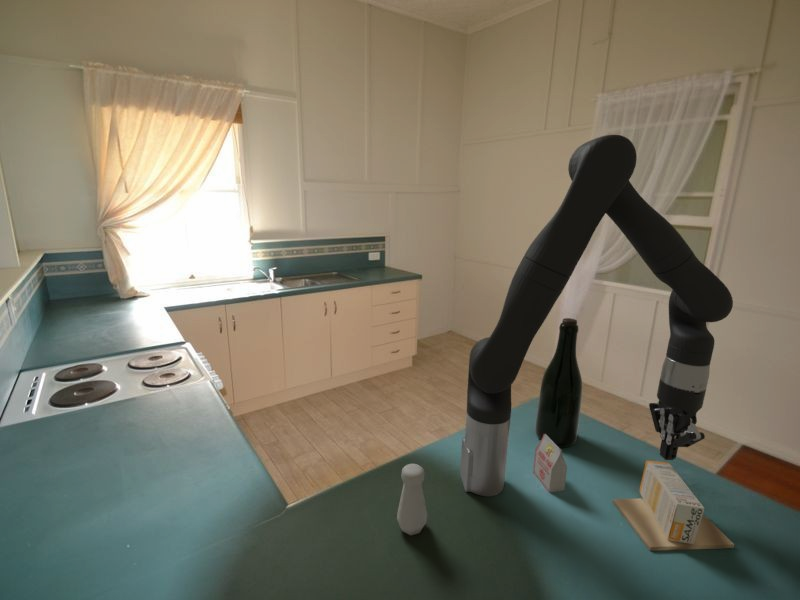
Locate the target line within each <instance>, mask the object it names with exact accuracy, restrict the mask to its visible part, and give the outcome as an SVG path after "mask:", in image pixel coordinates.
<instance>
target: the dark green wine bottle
mask: <svg viewBox="0 0 800 600" xmlns="http://www.w3.org/2000/svg"><path fill="white" fill-rule="evenodd" d="M561 321H562V322H560V324H559V328H558V331H559V332H558V339H557V344H556V348H555V352H554V354H553V357H552V358H551V360H550V362H549V364H548V365H547V368H546V369H545V371H544V373H543V375H542V379H541V383H540V389H539V395H538V404H537V410H536V418H535V427H534V433H535V435H536V437H537V438H538V439H539V440H541V439H542V437H543V434H546V435H547V436H548V437H549V438H550V439H551V440H552V441H553V442H554V443H555V444H556V445H557V446H558V447H559V448H564V447H566V448H567V447H571V446H572V445H574V444H575V443H576V442H577V438H578V433H579V432H578V431H579V424H580V416H581V415H580V414H581V409H582V408H581V407H582V396H583V378H582V375H581V372H580V371H581V370H580V366H579V364H578V359H577V342H578V341H577V340H578V333H579V325H578V321H577V319H574V318H570V317H569V318H568V317H566V318H563V319H562V320H561Z"/></svg>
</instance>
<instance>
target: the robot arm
mask: <svg viewBox="0 0 800 600" xmlns="http://www.w3.org/2000/svg"><path fill="white" fill-rule="evenodd" d="M637 158H638V157H637V150H636V147H635V146H634V144H633V142H632V141H631V140H630V139H629V138H628V137H626V136H624V135H621V134H606V135H602V136H599V137H596V138H594V139H591V140H589V141H587V142H584V143H583V144H581V145H580V146H578V147H577V148H576V149H575V150H574V151H573V153H572V154H571V157H570V159H569V161H568V166H567V167H568V168H567V169H568V171H567V172H568V176H569V178H570V180H571V183H570V185H569V186H568V187H569V188H568V190H567V192H566V194H565V196H564V198H563V200H562V201H561V204H560V206H559V207H558V209H557V211H556V212H555V213H554V215H553V216H552V217H551V219H550V220H549V221H548V222H547V223H546V225H544V227H543V228H542V229H541V230H540V232H539V233H538V234H537V235H536V236H535V238H534V240H532V242H531V244H529V247H528V248H527V249H526V251H525V253H524V256H523V257H522V259H521V260H520V263H519V264H518V267H517V268H516V271H515V272H514V275H513V277H512V280H511V282H510V285H509V287H508V290H507V293H506V296H505V301H504V304H503V307H502V310H501V313H500V317H499V319H498V322H497V324H496V326H495V328H494V329H493V331H492V333H491V334H490V336H489V337H484V338H482V339H480V340H478V341H477V342H476V343H475V344H474V345H473V347H472V348H471V350H470V353H469V360H468V361H469V362H468V376H467V377H468V378H467V390H466V391H467V393H466V395H467V397H466V412H465V413H466V416H465V432H464V433H465V434H464V436H463V437H461V453H460V454H461V455H460V469H459V471H460V472H459V475H460V478H461V481H462V485H463V488H464V491H465V492H468V493H469V492H471V493H473V494H475V495H479V496H482V497H493V496H497V495H499V494H500V493H501V492H502V491H503V490H504V488H505V481H506V480H505V479H506V469H507V468H506V467H507V457H508V450H509V449H508V448H509V437H510V426H511V417H512V416H511V415H512V384H513V383H514V382H515V381H516V379H517V377H518V375H519V371H520V369H521V367H522V365H523V362H524V360H525V357H526V356H527V353H528V351H529V349H530V345H531V343H532V342H533V340H534V338H535V337H536V334H537V333H538V331H539V330H540V328H541V327H542V326H543V324H544V322H545V321H546V319H547V317H548V316H549V315H550V312H551V311H552V309H553V307H554V305H555V304H556V302H557V300H558V299H559V297H560V295H561V294H562V292H563V291H564V289H565V287H566V285H567V284H568V282H569V280H570V279H571V277H572V275H573V273H574V272H575V269H576V267H577V265H578V263H579V261H580V259H581V258H582V256H583V254H584V252H585V251H586V248H587V247H588V245H589V243H590V241H591V239H592V237H593V235H594V233H595V231H596V230H597V228H598V226H599V224H600V222H601V221H602V219H603V218H604V216H605V215H607V216H608V218H609V219H610V220H611V221H613V223H614V224H615V225H616V227H618V228H619V230H620V231H621V232H622V234H623V236H624V237H626V239H627V240H628V242H629V243H630V244H631V245H632V247H633V248H634V249H635V250H636V252H637V255H639V256H640V257H641V259H642V261H643V262H644V263H645V264H646V266H647V267H648V269H650V271H651V272H652V273H653V275H654V276H655V277H656V278H657V279H658V280H659V281H660V282H662V283H664V284H665V285H666V286H668V287H670V288H671V293H670V295H669V298H668V325H669V333H670V335H669V340H668V343H667V348H666V353H665V358H664V361H663V363H662V367H661V371H660V377H659V382H658V387H657V392H656V398H657V400H658V401H657V402H649V404H648V407H649V411H650V415H651V419H652V423H653V427H654V430H655V432H656V433H659V435H660V439H661V442H660V446H659V455H660V457H662V458H663V459H664V460H665V461H674V460H675V459H676V458H677V454H678V451H679V448H690V447H691V446H693V445H694V444H697V443H699V442H700V441H703V440H704V439H705V436H706V435H705V434H704V433H705V432H701V431H700V432H699V430H698V428H697V426H696V424H697V422H698V419H697V413H698V412H699V411H700V410H701V409H703V405H704V400H705V397H706V392H707V388H708V384H709V383H708V382H709V378H710V372H711V371H710V370H711V369H710V366H711V361H712V356H713V353H714V352H713V351H714V348H715V338H714V336H713V334H712V333H711V332H710V330H709V329H708V327H707V323H716V322H720V321H722V320H724V319H726V318H727V317H728V316H729V314H730V313H731V311H732V309H733V306H734V300H733V296H732V293H731V291H730V290H729V289H728V286H726V284H725V283H724V282H723V281H722V280H721V279H720V278H719V277H718V276H717V275H716V274H714V272H713V271H712V270H710V269H709V268H708V266H706V265H705V264H704V263H703V262H702V261H700V260H699V259H698V258H697V256H696V254H695V253H694V251H693V250H692V249H691V247H690V246H689V244H688V243H687V241H686V240H685V239H684V237H682V235H681V234H680V233H679V231H677V229H676V227H674V226H673V225H672V224H671V223H670V222H669V220H667V219H666V218H665V217H664V216H662V214H660V213H659V211H657V210H656V209H654V208H653V207H652V206H651V205H650V204H649V203H648V202H647V201H646V200H645V199H644V198H643V197H642V196H641V195H640V193H639V192H638V191H637V190H636V188H635V187H634V186H633V185H632V183H631V182H630V179H631V178H632V176H633V174H634V172H635V169H636V165H637Z"/></svg>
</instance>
